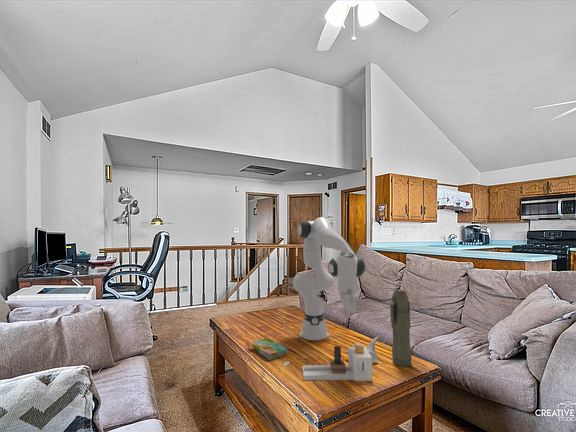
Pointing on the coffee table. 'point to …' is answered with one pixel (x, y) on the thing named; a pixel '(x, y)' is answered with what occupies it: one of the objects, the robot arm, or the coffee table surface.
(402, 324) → the thermos
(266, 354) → the puzzle game
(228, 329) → the coffee table surface
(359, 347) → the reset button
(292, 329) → the coffee table surface
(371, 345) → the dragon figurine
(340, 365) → the carriage
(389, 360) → the coffee table surface
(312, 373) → the rail base
